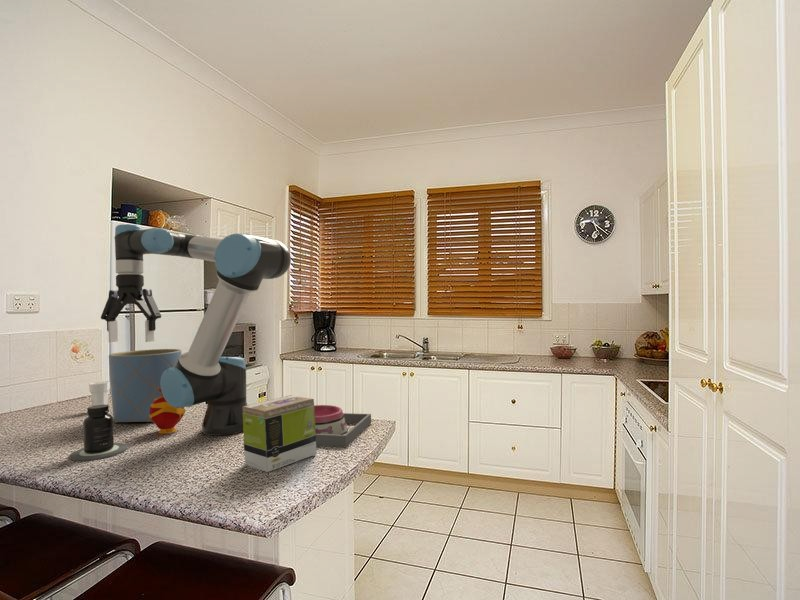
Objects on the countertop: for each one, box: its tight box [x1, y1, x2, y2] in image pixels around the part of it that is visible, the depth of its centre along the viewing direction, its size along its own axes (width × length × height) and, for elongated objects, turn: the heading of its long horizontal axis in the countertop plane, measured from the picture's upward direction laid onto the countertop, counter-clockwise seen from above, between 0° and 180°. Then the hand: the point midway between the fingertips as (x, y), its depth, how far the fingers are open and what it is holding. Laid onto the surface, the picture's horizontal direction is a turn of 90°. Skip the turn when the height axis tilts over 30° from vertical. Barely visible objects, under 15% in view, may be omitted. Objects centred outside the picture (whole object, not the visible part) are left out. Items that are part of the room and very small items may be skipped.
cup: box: [88, 380, 111, 406], centre depth 173 cm, size 7×7×11 cm
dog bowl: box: [314, 404, 349, 435], centre depth 137 cm, size 18×19×7 cm
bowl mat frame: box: [316, 412, 372, 448], centre depth 136 cm, size 24×24×3 cm
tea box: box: [242, 395, 318, 473], centre depth 112 cm, size 15×10×15 cm, turn 141°
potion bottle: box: [149, 384, 186, 435], centre depth 142 cm, size 10×10×15 cm
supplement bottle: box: [82, 404, 115, 454], centre depth 122 cm, size 7×7×12 cm
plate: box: [69, 442, 128, 462], centre depth 122 cm, size 13×13×1 cm
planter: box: [108, 348, 182, 424], centre depth 161 cm, size 23×23×24 cm
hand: (131, 341), depth 141 cm, fingers open, 13 cm apart
